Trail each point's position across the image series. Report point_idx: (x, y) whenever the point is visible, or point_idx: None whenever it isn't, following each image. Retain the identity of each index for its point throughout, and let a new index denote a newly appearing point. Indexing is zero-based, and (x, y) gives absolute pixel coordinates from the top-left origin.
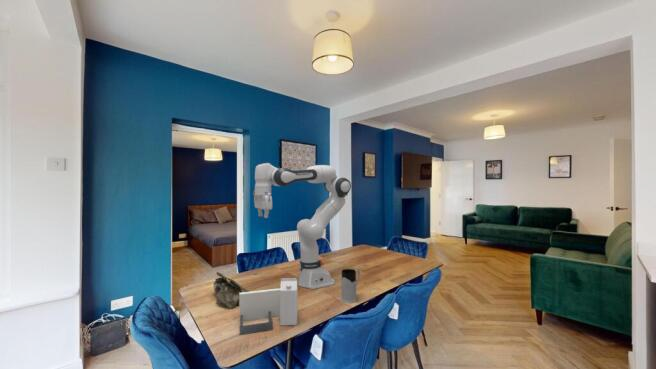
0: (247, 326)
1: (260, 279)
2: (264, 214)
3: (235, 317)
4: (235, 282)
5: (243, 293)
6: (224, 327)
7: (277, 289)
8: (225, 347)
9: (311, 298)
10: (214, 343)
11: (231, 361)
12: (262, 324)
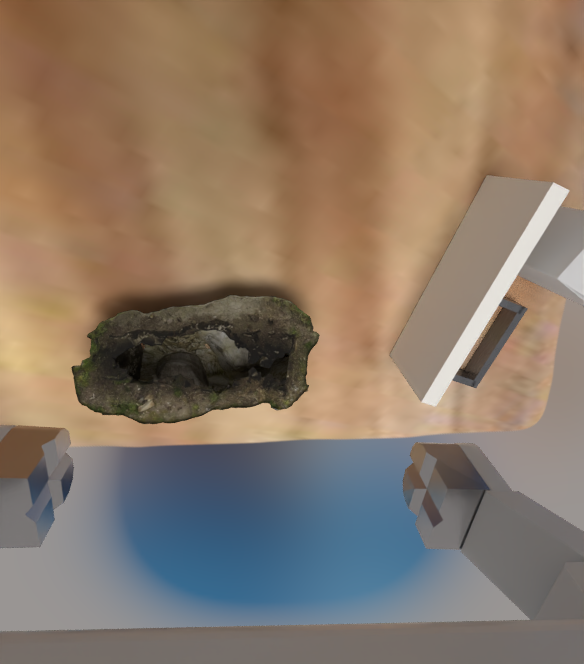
0: (486, 371)
1: (24, 123)
2: (467, 554)
3: (367, 360)
4: (142, 314)
5: (438, 393)
6: (401, 397)
7: (508, 275)
8: (487, 415)
9: (441, 32)
10: (453, 429)
11: (540, 417)
12: (509, 334)
